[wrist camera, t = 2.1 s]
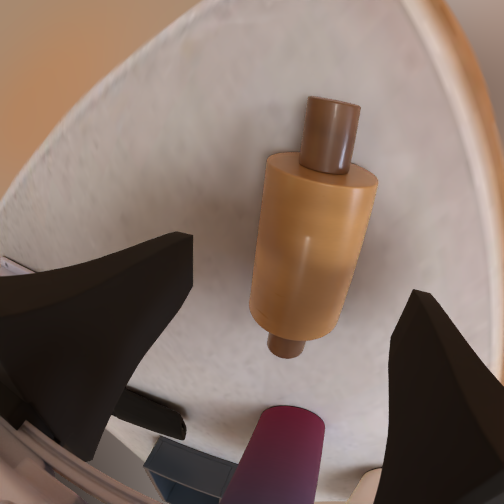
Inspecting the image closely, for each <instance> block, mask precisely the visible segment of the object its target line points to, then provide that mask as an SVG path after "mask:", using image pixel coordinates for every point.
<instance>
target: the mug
mask: <svg viewBox="0 0 504 504" xmlns="http://www.w3.org/2000/svg"><path fill="white" fill-rule="evenodd" d="M381 471H382V468H379V469H374V470H371V471H368V472H367V473H365V474H364V475H363V477H362V478H361V480H360V482H359V483H358V485H357V487H356V488H355V490H354V491H353V493H352V494H351V496H350V497H349V499H348V500H347V502H346V503H345V504H373V502H374V499H375V495H376V492H377V488H378V484H379V480H380V476H381Z"/></svg>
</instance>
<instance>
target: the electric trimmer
mask: <svg viewBox="0 0 504 504" xmlns="http://www.w3.org/2000/svg"><path fill="white" fill-rule="evenodd" d="M111 415H113V416H115V417H117V418H118V419H121V420H124V421H126V422H129V423H132V424H134V425H137V426H140V427H143V428H146V429H148V430H151V431H154V432H157V433H160V434H163V435H166V436H169V437H173V438H176V439H179V440H184V439H185V436H186V431H187V429H186V425H185V423H184V421H183V419H182V417H181V415H180V414H179V413H178V412H176V411H173V410H171V409H169V408H166V407H164V406H162V405H159V404H157V403H155V402H152V401H150V400H148V399H146V398H144V397H142V396H139V395H137V394H135V393H133V392H131V391H129V390H126V389H124V390H123V392H122V394H121V396H120V398H119V400H118V402H117V404H116V406H115V408H114V410H113V412H112V414H111Z"/></svg>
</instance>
